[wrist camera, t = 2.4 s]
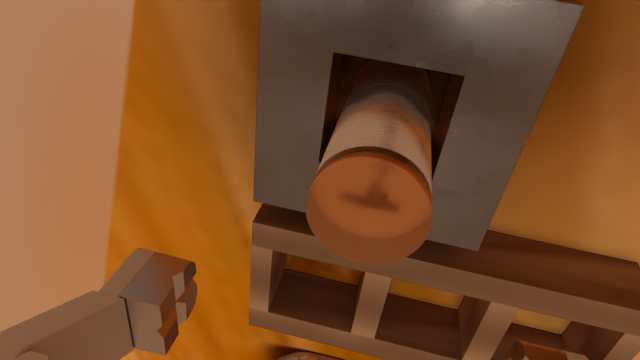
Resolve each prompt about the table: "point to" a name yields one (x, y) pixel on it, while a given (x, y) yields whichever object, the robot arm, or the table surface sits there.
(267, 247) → the tool rack
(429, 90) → the round peg
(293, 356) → the tin
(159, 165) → the table surface
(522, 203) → the table surface
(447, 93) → the socket block
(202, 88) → the table surface
